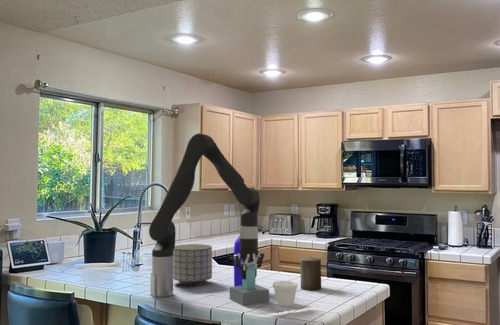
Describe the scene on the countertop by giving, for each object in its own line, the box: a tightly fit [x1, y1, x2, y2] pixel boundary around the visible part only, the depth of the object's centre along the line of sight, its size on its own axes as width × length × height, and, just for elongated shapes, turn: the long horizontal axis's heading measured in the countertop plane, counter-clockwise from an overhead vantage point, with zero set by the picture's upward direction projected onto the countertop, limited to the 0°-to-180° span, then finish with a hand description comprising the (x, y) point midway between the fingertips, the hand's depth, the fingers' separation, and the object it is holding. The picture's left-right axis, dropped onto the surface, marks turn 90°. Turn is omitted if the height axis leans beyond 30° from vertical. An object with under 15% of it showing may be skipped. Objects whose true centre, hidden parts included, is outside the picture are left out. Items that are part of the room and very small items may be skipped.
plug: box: [242, 263, 256, 290], centre depth 196 cm, size 4×4×12 cm
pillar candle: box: [299, 256, 322, 291], centre depth 223 cm, size 10×10×15 cm
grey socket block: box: [229, 283, 270, 306], centre depth 196 cm, size 12×12×6 cm
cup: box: [272, 280, 298, 307], centre depth 190 cm, size 10×10×9 cm
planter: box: [173, 243, 213, 287], centre depth 234 cm, size 19×19×18 cm
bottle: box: [233, 224, 250, 287], centre depth 217 cm, size 8×8×30 cm
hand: (248, 278), depth 196 cm, fingers closed on plug, 4 cm apart
